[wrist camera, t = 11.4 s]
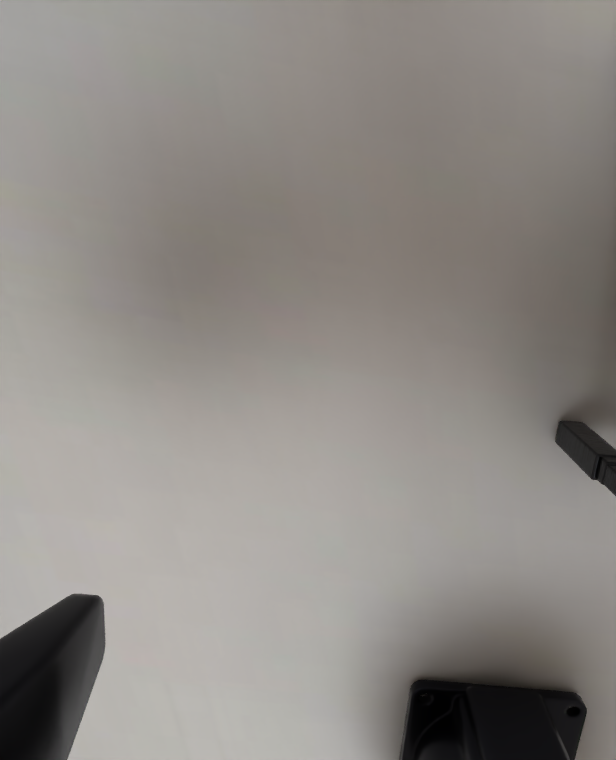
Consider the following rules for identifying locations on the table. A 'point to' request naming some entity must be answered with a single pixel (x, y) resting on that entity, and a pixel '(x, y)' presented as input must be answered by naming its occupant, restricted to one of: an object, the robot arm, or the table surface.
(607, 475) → the rack
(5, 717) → the robot arm
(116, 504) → the table surface
